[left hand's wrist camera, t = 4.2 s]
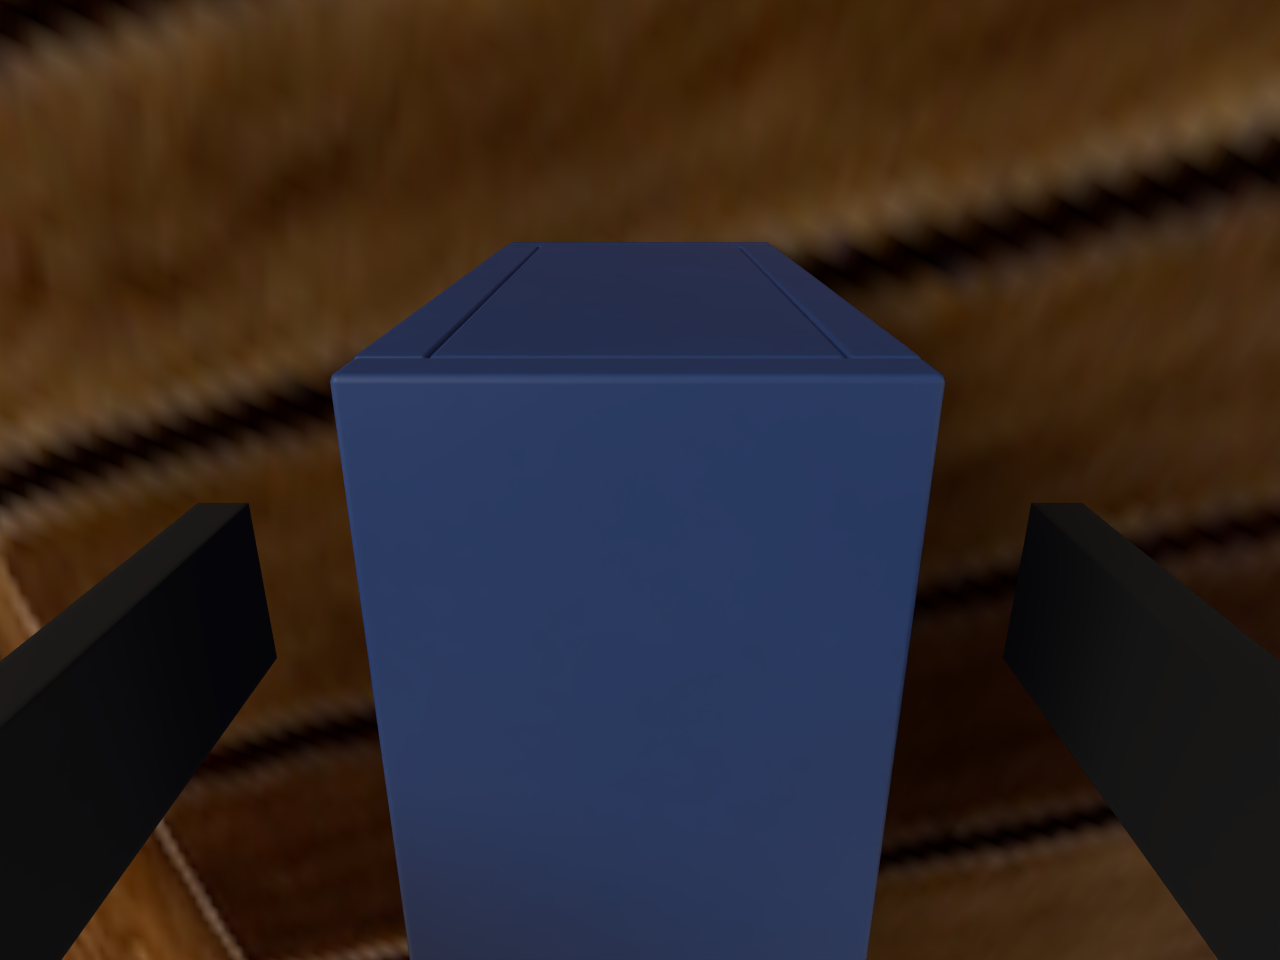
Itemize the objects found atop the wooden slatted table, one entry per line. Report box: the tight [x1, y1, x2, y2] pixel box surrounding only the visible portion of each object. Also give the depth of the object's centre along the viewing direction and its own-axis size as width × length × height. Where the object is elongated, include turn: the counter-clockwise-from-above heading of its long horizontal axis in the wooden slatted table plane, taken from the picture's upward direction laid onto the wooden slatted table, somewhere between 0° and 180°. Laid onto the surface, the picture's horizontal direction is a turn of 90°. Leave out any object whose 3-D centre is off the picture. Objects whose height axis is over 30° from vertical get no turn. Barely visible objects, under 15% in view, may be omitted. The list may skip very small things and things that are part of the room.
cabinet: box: [330, 242, 945, 960], centre depth 16 cm, size 19×5×11 cm, turn 0°
